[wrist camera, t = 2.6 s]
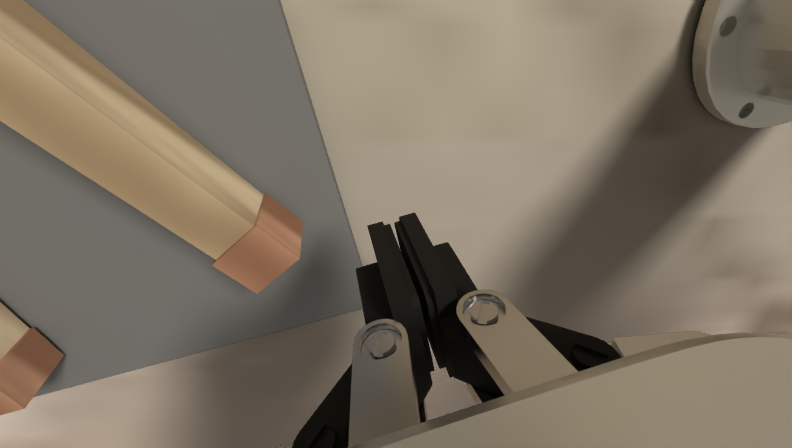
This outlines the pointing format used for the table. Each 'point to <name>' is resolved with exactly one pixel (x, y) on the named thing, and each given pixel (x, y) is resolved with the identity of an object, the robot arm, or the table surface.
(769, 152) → the table surface
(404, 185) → the table surface
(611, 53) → the table surface
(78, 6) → the mat
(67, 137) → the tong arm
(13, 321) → the tongs fixed
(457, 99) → the table surface
